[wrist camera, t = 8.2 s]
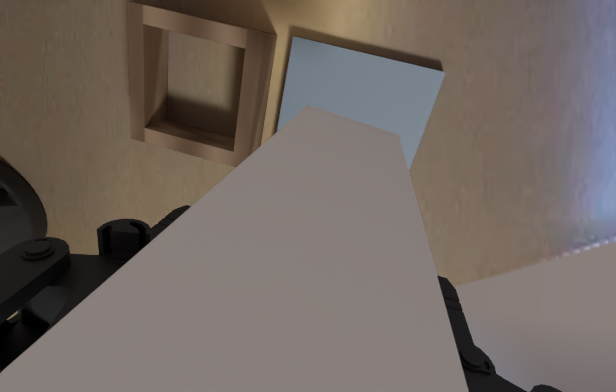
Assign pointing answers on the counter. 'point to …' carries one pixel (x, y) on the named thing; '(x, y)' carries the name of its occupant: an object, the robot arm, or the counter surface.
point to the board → (361, 89)
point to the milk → (270, 284)
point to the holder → (154, 83)
